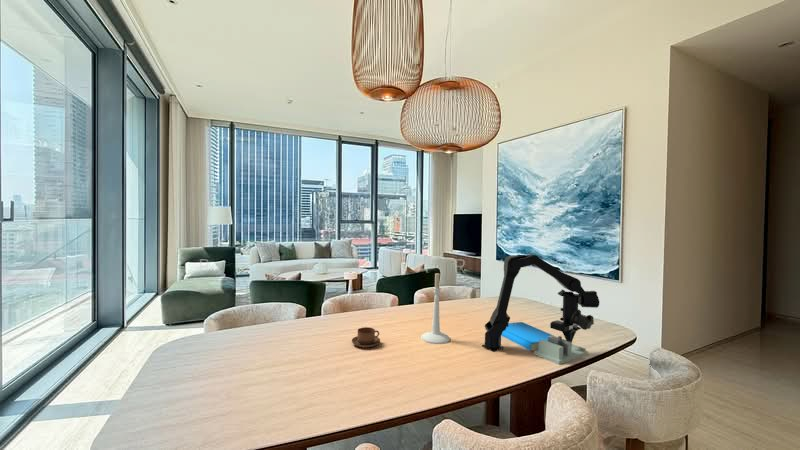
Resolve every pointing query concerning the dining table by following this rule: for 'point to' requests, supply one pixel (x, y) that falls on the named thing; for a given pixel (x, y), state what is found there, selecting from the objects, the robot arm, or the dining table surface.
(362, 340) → the cup and saucer
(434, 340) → the candlestick
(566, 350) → the jaw
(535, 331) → the book
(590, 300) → the robot arm
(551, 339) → the block
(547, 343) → the vise
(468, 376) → the dining table surface
